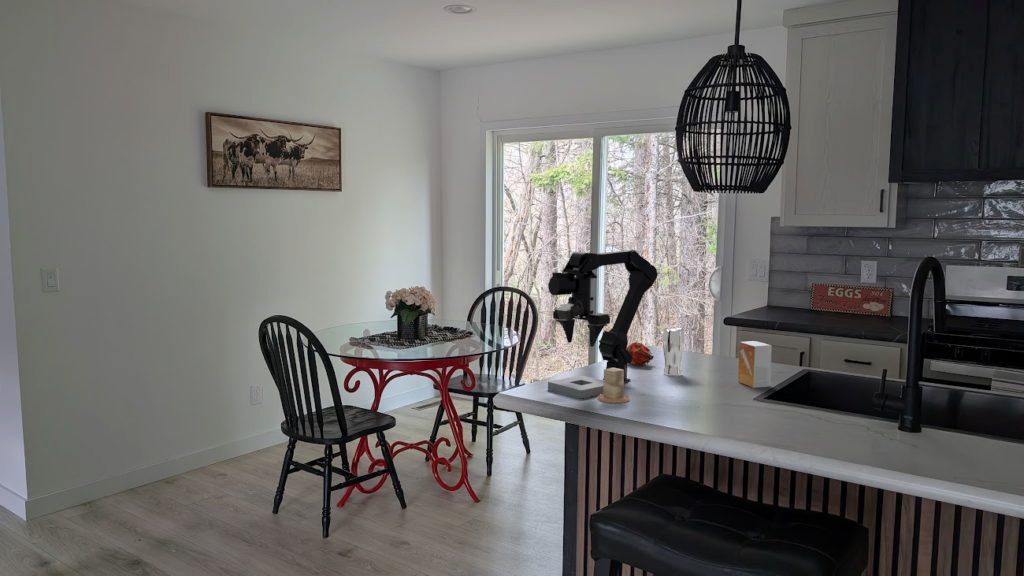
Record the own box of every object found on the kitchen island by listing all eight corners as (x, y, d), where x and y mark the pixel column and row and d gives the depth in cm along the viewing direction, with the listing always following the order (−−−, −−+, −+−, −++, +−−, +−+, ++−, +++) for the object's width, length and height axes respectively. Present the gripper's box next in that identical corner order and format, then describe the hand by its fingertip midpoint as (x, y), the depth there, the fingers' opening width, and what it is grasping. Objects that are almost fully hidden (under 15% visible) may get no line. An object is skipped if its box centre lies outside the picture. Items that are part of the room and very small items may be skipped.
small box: (737, 382, 230) (739, 341, 229) (754, 381, 232) (756, 340, 231) (753, 388, 222) (754, 346, 221) (770, 386, 224) (772, 345, 223)
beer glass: (686, 373, 242) (687, 328, 241) (679, 377, 236) (680, 331, 235) (666, 371, 246) (667, 327, 244) (658, 374, 240) (660, 329, 239)
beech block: (612, 394, 211) (613, 367, 210) (623, 397, 208) (623, 369, 207) (603, 396, 208) (603, 369, 207) (613, 399, 205) (614, 371, 204)
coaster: (612, 393, 214) (612, 391, 214) (636, 399, 207) (636, 397, 207) (591, 398, 209) (591, 396, 209) (614, 405, 202) (614, 402, 202)
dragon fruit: (629, 365, 263) (648, 376, 252) (614, 353, 259) (633, 364, 248) (642, 346, 263) (662, 356, 253) (628, 334, 259) (648, 344, 249)
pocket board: (580, 383, 228) (580, 375, 227) (614, 391, 217) (614, 383, 217) (547, 389, 219) (547, 381, 219) (581, 399, 208) (581, 390, 208)
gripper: (540, 293, 222) (540, 343, 224) (586, 298, 208) (585, 352, 210) (565, 290, 230) (565, 339, 231) (611, 295, 216) (610, 347, 217)
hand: (580, 344), depth 222 cm, fingers open, 9 cm apart
